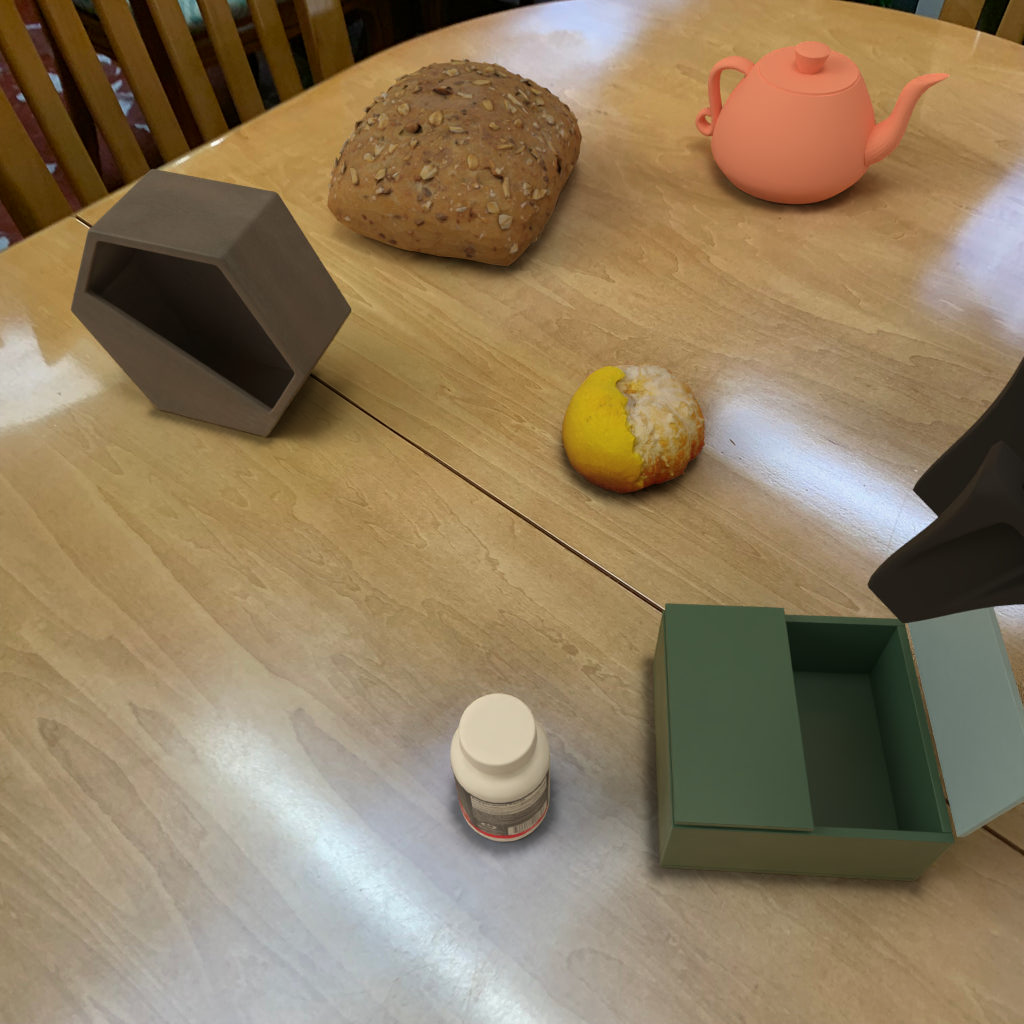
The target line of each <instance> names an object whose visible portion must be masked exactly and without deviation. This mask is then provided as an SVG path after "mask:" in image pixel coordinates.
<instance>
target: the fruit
mask: <svg viewBox="0 0 1024 1024" xmlns="http://www.w3.org/2000/svg"><path fill="white" fill-rule="evenodd" d="M705 421H706V419H705V417H704V414H703V411H702V408H701V406H700V404H699V396H697V397H695V393H694V391H693V389H692V388H691V387H690V386H689V385H688V384H687V383H686V382H685V381H684V380H683V379H681V378H679V377H678V376H677V375H674V374H673V372H672V371H671V370H670V369H669V368H666V367H663V366H659V365H658V364H657V363H655V362H643V363H641V364H639V365H638V366H637V365H632V364H622V363H621V364H618V365H616V366H614V365H606V366H602V367H601V368H598V369H596V370H594V371H593V372H592V373H591V374H589V375H588V376H587V377H586V379H585V380H584V381H583V382H582V383H581V384H580V386H579V387H578V389H576V390H575V392H574V393H573V395H572V397H571V399H570V401H569V403H568V406H567V408H566V411H565V413H564V417H563V421H562V425H561V426H562V427H561V442H562V445H563V448H564V451H565V454H566V456H567V460H568V461H569V464H570V465H571V467H572V468H573V469H574V470H575V471H576V472H577V473H578V474H579V475H580V476H581V477H582V478H583V480H585V481H586V482H589V483H590V485H593V486H595V487H598V488H600V489H602V490H605V491H611V492H614V493H615V492H616V493H617V494H619V495H621V494H623V495H625V494H627V493H633V492H637V491H639V490H642V489H644V488H647V487H649V486H651V485H661V484H663V483H664V482H667V481H671V480H673V479H676V478H678V477H679V476H680V475H685V472H684V471H685V470H686V468H687V466H688V464H689V462H691V461H693V460H694V459H696V458H697V457H698V456H699V455H700V454H701V452H702V450H703V447H704V446H706V443H705V439H706V438H705V437H706V425H705V424H706V423H705Z"/></svg>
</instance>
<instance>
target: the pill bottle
mask: <svg viewBox="0 0 1024 1024" xmlns="http://www.w3.org/2000/svg"><path fill="white" fill-rule="evenodd" d="M449 752H450V755H449V756H450V766H451V770H452V773H453V778H454V783H455V788H456V792H457V798H458V803H459V807H460V810H461V813H462V816H463V818H464V819H465V822H467V824H468V826H469V827H470V828H471V829H472V830H473V831H474V832H475V833H477V834H478V835H480V836H482V837H483V838H486V839H488V840H490V841H494V842H504V843H505V842H513V841H518V840H520V839H523V838H525V837H527V836H529V835H530V834H532V833H533V832H534V831H535V830H536V829H538V827H539V826H540V825H541V824H542V822H543V821H544V819H545V818H546V815H547V812H548V810H549V806H550V799H551V798H550V796H551V747H550V741H549V738H548V735H547V733H546V731H545V729H544V727H543V725H542V724H541V723H540V721H539V720H538V719H537V718H536V717H535V716H534V714H533V712H532V711H531V709H530V708H529V707H528V705H527V704H526V703H524V702H523V701H522V700H521V699H520V698H518V697H515V696H513V695H510V694H507V693H501V692H500V693H499V692H498V693H490V694H485V695H483V696H480V697H479V698H477V699H474V701H472V702H471V703H469V705H468V706H467V707H466V708H465V710H464V712H463V713H462V715H461V717H460V720H459V724H458V727H457V729H456V730H455V732H454V734H453V737H452V740H451V743H450V751H449Z"/></svg>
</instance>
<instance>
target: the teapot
mask: <svg viewBox="0 0 1024 1024" xmlns="http://www.w3.org/2000/svg"><path fill="white" fill-rule="evenodd" d="M725 70H734V71H737V72H740V73H741V74H743V75H744V76H743V78H742V79H741V80H740V81H739V82H738V83H737V84H736V86H735V87H734V88H733V90H732V91H731V92H730V93H729V95H728V97H727V98H726V101H725V102H724V104H723V102H722V95H721V76H722V72H723V71H725ZM949 76H950V74H948V73H945V72H935V73H928V74H927V73H926V74H923V75H920V76H917V77H914V78H913V79H911V80H910V81H909V82H907V84H906V85H904V87H903V89H901V91H900V93H899V95H898V97H897V101H896V102H895V105H894V107H893V109H892V111H891V113H890V114H889V116H888V117H887V118H885V119H884V120H882V121H880V122H878V123H876V117H875V116H876V115H875V111H874V107H873V103H872V99H871V95H870V92H869V90H868V87H867V84H866V81H865V79H864V77H863V75H862V72H861V71H860V69H859V67H858V65H857V64H856V62H854V61H853V60H852V59H851V58H849V57H848V56H846V55H845V54H843V53H841V52H839V51H836V50H833V49H831V48H830V46H829V45H827V44H826V43H823V42H821V41H817V40H807V41H801V42H799V43H798V44H796V45H790V46H784V47H780V48H777V49H774V50H772V51H770V52H768V53H766V54H765V55H764V56H762V57H761V58H759V60H758V61H757V62H756V63H754V62H753V61H752V60H750V59H749V58H746V57H744V56H740V55H730V56H727V57H724V58H722V59H720V60H719V61H717V62H716V63H715V64H714V65H713V66H712V68H711V69H710V72H709V74H708V79H707V97H708V105H709V107H707V106H706V107H704V108H702V109H700V110H699V111H698V113H697V115H696V117H695V121H694V122H695V127H696V129H697V131H698V132H699V133H700V134H701V135H703V136H705V137H711V142H710V143H711V144H710V146H711V152H712V156H713V159H714V161H715V163H716V165H717V167H718V168H719V169H720V171H721V172H722V173H723V174H724V176H725V177H726V178H727V179H728V181H729V182H730V183H731V184H733V186H735V188H737V189H739V190H741V191H742V192H744V193H746V194H747V195H750V196H752V197H754V198H756V199H761V200H763V201H768V202H772V203H776V204H777V203H778V204H784V205H785V204H786V205H805V204H814V203H819V202H822V201H826V200H828V199H831V198H833V197H835V196H838V195H839V194H840V193H842V192H844V191H846V190H847V189H849V188H850V187H852V186H853V185H854V184H856V183H857V182H858V181H860V179H861V178H862V177H863V176H864V175H865V174H866V172H868V170H869V168H870V167H871V166H872V165H875V164H877V163H879V162H882V161H883V160H884V159H886V158H887V157H888V156H890V155H891V154H892V153H893V152H894V150H895V149H896V148H898V146H899V144H900V143H901V141H902V139H903V138H904V135H905V133H906V131H907V129H908V125H909V123H910V121H911V117H912V115H913V112H914V109H915V107H916V106H917V104H918V102H919V100H920V99H921V97H922V96H923V94H925V93H926V91H928V90H929V89H930V88H932V87H933V86H935V85H937V84H938V83H941V82H943V81H945V80H946V79H948V78H949ZM706 117H710V120H711V121H710V122H709V121H708V120H707V118H706Z"/></svg>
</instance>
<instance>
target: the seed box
mask: <svg viewBox="0 0 1024 1024" xmlns="http://www.w3.org/2000/svg"><path fill="white" fill-rule="evenodd" d="M652 677H653V678H652V679H653V704H654V705H653V707H654V731H655V732H654V734H655V765H656V766H655V767H656V795H657V797H656V798H657V821H658V822H657V823H658V827H657V828H658V850H659V853H658V854H659V855H658V857H659V868H664V869H681V870H699V871H717V872H718V871H719V872H736V873H752V874H753V873H756V874H771V875H772V874H773V875H790V876H809V877H825V878H826V877H827V878H828V877H829V878H843V879H862V880H866V879H867V880H880V881H883V880H884V881H897V882H899V881H900V882H916V880H917V879H918V878H920V877H921V876H922V875H923V874H924V873H926V871H927V870H928V869H929V868H930V867H931V866H932V865H933V864H934V863H935V862H937V860H939V859H940V858H941V857H942V856H943V855H944V854H945V853H946V852H947V851H949V849H950V848H952V846H954V845H955V843H956V840H955V836H954V833H953V832H954V831H953V827H952V823H951V819H950V815H949V809H948V805H947V800H946V796H945V792H944V788H943V784H942V779H941V774H940V771H939V765H938V762H937V758H936V753H935V749H934V745H933V740H932V735H931V731H930V726H929V723H928V722H929V721H928V718H927V713H926V710H925V709H926V708H925V705H924V701H923V696H922V692H921V688H920V683H919V680H918V679H919V678H918V674H917V669H916V665H915V661H914V657H913V652H912V648H911V644H910V639H909V635H908V630H907V627H906V623H902V622H901V621H900V620H899V619H898V618H887V617H866V616H865V617H864V616H863V617H862V616H861V617H860V616H838V615H835V616H834V615H833V616H832V615H809V614H786V612H785V608H784V607H777V606H776V607H775V606H749V605H748V606H747V605H725V604H724V605H723V604H721V605H720V604H700V603H699V604H698V603H697V604H695V603H694V604H693V603H669V602H666V603H665V604H664V609H662V612H661V618H660V623H659V628H658V634H657V639H656V645H655V650H654V656H653V659H652Z"/></svg>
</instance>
